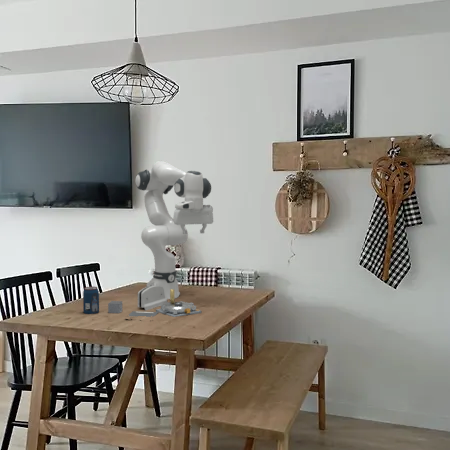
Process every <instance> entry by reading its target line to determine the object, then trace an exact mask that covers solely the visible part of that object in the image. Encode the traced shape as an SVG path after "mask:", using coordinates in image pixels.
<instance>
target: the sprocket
mask: <svg viewBox="0 0 450 450" xmlns="http://www.w3.org/2000/svg"><path fill="white" fill-rule="evenodd" d="M175 299H176V298H175V296H174V289H170V299H169V301H167V302H168V303H167V304H165V305H161V306H160V309H162V310H163V312H164V313H166V312H168V313H173V314H178V313H190V311H192V310H196V309H197V305H195V304H194V303H193V302H187V301H186V302H185V301H182V300H181V301H175Z"/></svg>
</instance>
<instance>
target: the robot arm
mask: <svg viewBox="0 0 450 450" xmlns="http://www.w3.org/2000/svg"><path fill="white" fill-rule="evenodd" d="M134 181H135V185H136V186H135V187H136V188H137V189H138V190H141V191H147V192H146V193H145V194H144V199H143V200H144V207H145V210H146V213H147V216H148V217H147V218H148V220H149V222H150V223H151V224H152V225H151V226H147V227H144V228H143V230H142V232H141V234H140V239H141V241H142V243H143V244H144V245H145V246H146V247H148V249H150V251H151V253H152V254H153V255H152V256H153V258H154V259H153V261H154V271H152V274H153V275H152V278H151V279H150V280H149V281H148V282H147V283H146V286H145V288H146V287H149V286H160V287H163V288H164V293H165V298H166V299H167V300H170V289H174V296H175V299H177V298H179V296H180V295H181V292H180V291H179V290H180V289H179V282H178V279H177V270H176V256H175V255H174V253H172V252H169V251H168V250H167V249H166V246H176V245H181V244H184V243H186V241H187V239H188V237H189V232H188V229H187V228H186V225H201V226H202V228H201V229H199V234H205V230H206V228H207V226H208V225H212V224H213V223H214V213H213V211H214V208H213V206H212V205H210V204H204V199H207V197H209V196H210V193H211V192H212V185H211V184H212V183H211V182H210V181H209V179H207V178H206V177H203V174H202V172H200V171H196V170H189V171H184V170H183V169H181V168H178V167H176V166H175V165H173V164H171V163H170V162H168V161H163V160H158V161H155V162H154V163H153V164H152V166H151V170H148V169H145V170H142V171H139V172H138V173H137V174H136V176H135V179H134ZM173 188H174V193H175V195H176V196H177V197H179V198H184V201H182V202H178V203H175V205H174V208H175V210H174V211H173V217H172V216H171V214H170V213H169V211H168V208H167V206H166V203H165V199H164V197H163V195H167V194H169V192H170V191H171V190H172V189H173Z"/></svg>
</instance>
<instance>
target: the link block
mask: <svg viewBox="0 0 450 450" xmlns="http://www.w3.org/2000/svg"><path fill="white" fill-rule="evenodd" d="M107 304H108V306H107V307H108V308H107V311H108V312H107V313H108V314H120V313H122V312H123V301H121V300H111V301H109V302H108V303H107Z"/></svg>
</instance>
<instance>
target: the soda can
mask: <svg viewBox="0 0 450 450" xmlns="http://www.w3.org/2000/svg"><path fill="white" fill-rule="evenodd" d="M83 289H84V290H83V292H82V299H83V300H82V304H83V306H82V307H83V310H82V312H83V313H84V314H85V315H86V314H87V315H95V314H98V313H99V312H100V291H99V288H98V287H97V286H86V287H84V288H83Z"/></svg>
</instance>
